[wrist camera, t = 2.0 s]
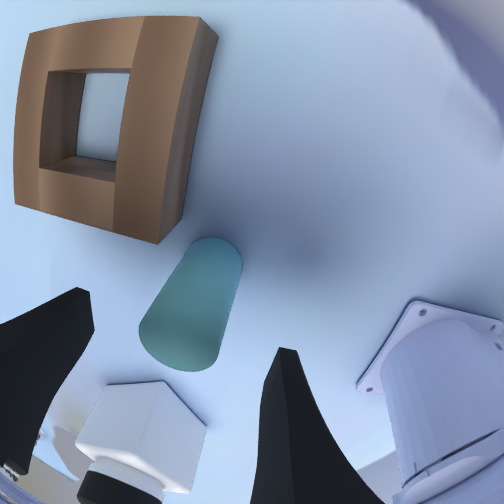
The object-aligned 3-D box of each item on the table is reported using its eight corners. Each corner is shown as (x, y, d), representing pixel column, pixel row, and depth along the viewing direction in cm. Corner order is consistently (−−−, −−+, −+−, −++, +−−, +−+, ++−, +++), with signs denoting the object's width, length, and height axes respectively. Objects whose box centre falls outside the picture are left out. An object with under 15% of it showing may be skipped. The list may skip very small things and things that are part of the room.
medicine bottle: (104, 383, 22) (49, 489, 11) (164, 378, 20) (110, 517, 10) (149, 427, 25) (113, 524, 14) (208, 427, 23) (179, 544, 12)
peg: (248, 245, 15) (225, 325, 9) (236, 294, 16) (212, 379, 11) (189, 230, 15) (138, 299, 9) (182, 280, 16) (139, 357, 11)
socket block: (218, 36, 10) (199, 17, 8) (181, 219, 14) (158, 244, 12) (65, 38, 10) (29, 33, 8) (48, 187, 14) (14, 203, 12)
